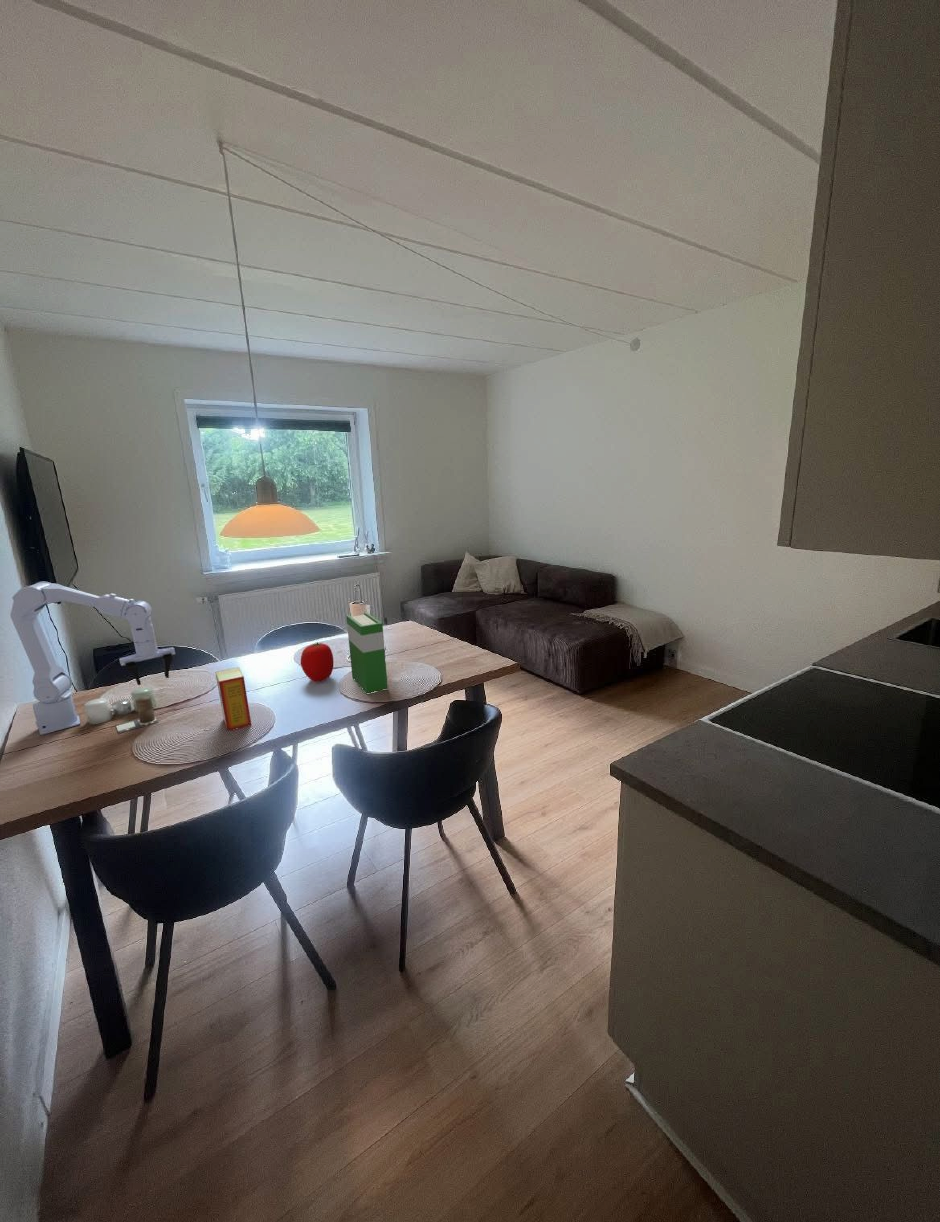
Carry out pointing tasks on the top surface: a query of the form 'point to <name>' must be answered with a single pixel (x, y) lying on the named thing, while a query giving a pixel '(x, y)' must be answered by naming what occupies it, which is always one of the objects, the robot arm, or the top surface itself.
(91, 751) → the top surface
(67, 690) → the robot arm
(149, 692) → the mug sage
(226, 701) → the baking soda box
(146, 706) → the walnut peg
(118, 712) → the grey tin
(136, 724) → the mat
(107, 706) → the mug white
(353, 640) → the hardback book
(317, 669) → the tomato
